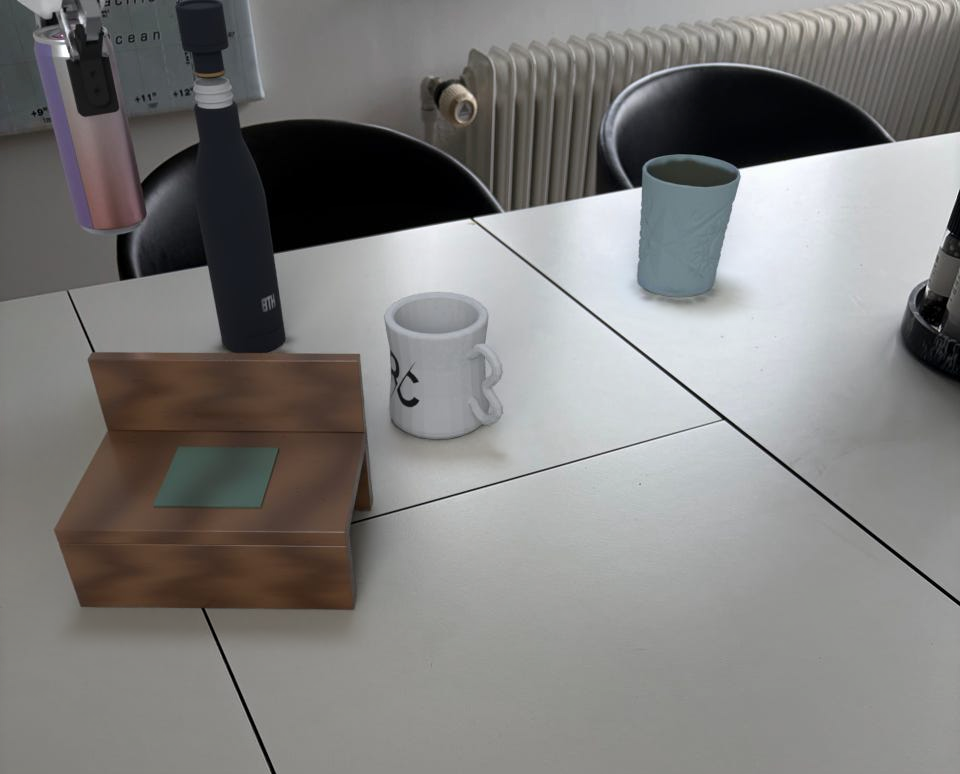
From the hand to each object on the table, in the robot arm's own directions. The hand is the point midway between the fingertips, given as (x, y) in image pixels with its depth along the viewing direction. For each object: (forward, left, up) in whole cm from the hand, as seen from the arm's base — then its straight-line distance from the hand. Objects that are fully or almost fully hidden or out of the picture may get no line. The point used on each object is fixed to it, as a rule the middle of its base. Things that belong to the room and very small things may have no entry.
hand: (85, 100), depth 85 cm
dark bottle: (+9, +7, -25) cm, 27 cm away
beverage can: (0, 0, -10) cm, 10 cm away
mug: (+30, -9, -25) cm, 40 cm away
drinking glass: (+54, +22, -25) cm, 63 cm away
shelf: (+14, -28, -25) cm, 40 cm away
